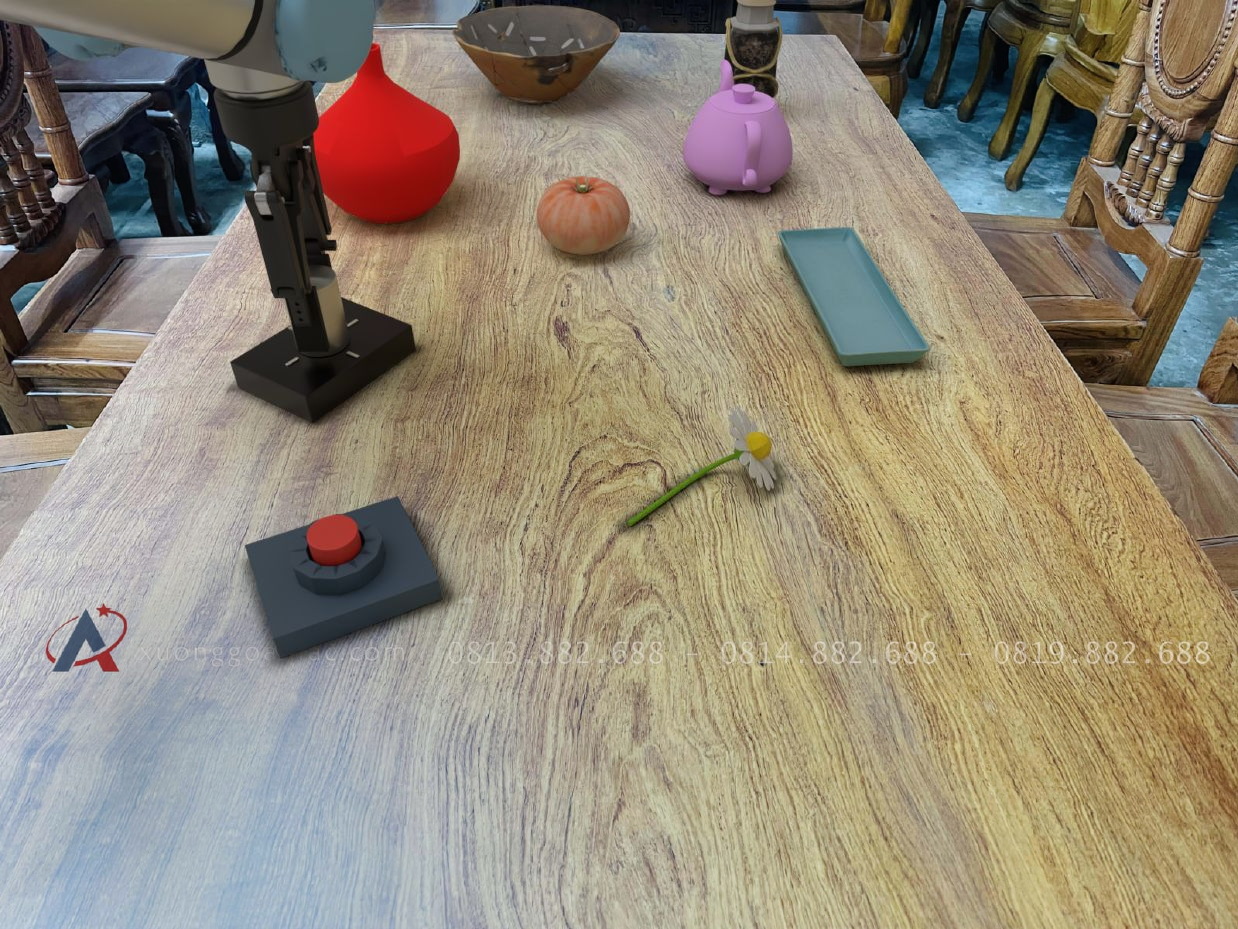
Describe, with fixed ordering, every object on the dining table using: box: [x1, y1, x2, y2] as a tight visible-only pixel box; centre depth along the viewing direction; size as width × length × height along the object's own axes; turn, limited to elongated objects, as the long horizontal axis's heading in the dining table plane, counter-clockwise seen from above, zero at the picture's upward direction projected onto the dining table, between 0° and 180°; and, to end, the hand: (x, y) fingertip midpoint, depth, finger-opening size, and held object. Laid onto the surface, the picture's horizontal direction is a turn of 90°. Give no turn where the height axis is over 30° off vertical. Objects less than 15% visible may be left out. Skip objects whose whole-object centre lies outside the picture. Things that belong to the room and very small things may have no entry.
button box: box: [244, 495, 444, 659], centre depth 70 cm, size 12×10×4 cm
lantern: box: [723, 0, 783, 99], centre depth 133 cm, size 9×8×25 cm
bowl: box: [452, 4, 621, 105], centre depth 144 cm, size 25×25×10 cm
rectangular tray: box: [777, 226, 931, 367], centre depth 101 cm, size 26×9×2 cm, turn 6°
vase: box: [313, 42, 461, 224], centre depth 112 cm, size 18×18×19 cm
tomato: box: [536, 175, 631, 256], centre depth 109 cm, size 11×11×8 cm
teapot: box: [682, 59, 794, 196], centre depth 122 cm, size 20×14×12 cm
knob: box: [283, 264, 350, 357], centre depth 88 cm, size 5×5×7 cm
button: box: [307, 514, 362, 566], centre depth 69 cm, size 4×4×2 cm
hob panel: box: [229, 296, 417, 424], centre depth 91 cm, size 14×10×3 cm
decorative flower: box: [626, 405, 777, 527], centre depth 78 cm, size 8×6×15 cm
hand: (320, 331), depth 90 cm, fingers closed on knob, 5 cm apart
